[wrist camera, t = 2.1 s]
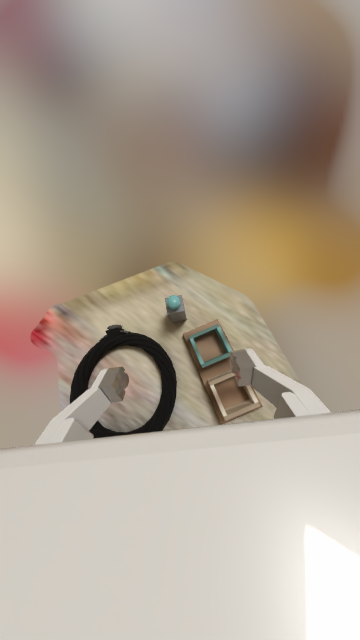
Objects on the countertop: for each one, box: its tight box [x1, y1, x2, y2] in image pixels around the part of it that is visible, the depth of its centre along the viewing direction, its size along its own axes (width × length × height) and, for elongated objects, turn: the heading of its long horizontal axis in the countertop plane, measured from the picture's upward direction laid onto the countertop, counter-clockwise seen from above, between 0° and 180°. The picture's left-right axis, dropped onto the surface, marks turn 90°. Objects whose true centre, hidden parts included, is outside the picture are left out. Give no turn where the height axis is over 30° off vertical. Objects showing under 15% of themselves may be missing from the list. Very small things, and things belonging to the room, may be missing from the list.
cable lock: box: [70, 325, 177, 439], centre depth 35 cm, size 28×4×30 cm
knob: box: [165, 295, 187, 322], centre depth 34 cm, size 4×4×10 cm
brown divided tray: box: [183, 319, 263, 424], centre depth 32 cm, size 22×10×4 cm, turn 22°
